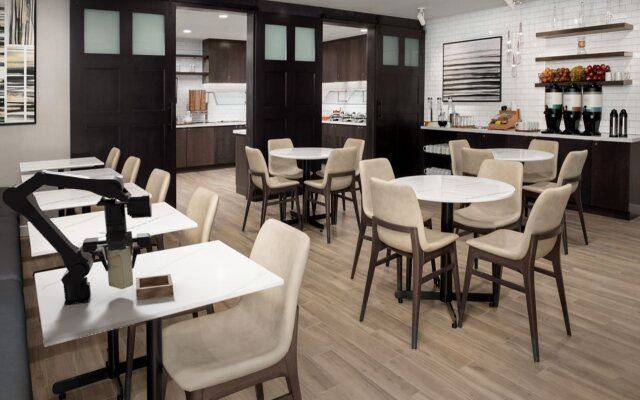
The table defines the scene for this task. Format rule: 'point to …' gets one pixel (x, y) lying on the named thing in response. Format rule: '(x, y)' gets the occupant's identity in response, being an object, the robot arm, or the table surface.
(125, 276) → the skincare box
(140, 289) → the box
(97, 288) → the table surface
